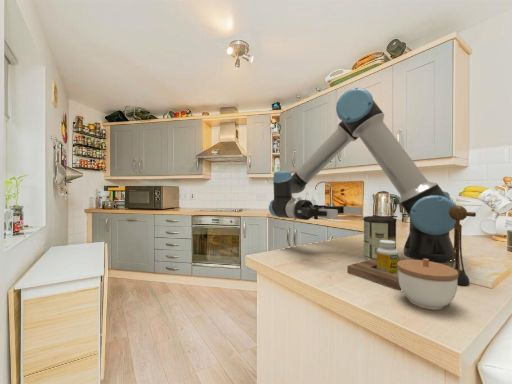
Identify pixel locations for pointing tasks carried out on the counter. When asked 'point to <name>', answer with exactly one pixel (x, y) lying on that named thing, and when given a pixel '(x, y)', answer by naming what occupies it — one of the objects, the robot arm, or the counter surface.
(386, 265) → the supplement bottle
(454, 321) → the counter surface
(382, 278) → the walnut socket plate
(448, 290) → the lidded jar
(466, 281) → the wooden tabletop sculpture
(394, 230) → the coffee can
